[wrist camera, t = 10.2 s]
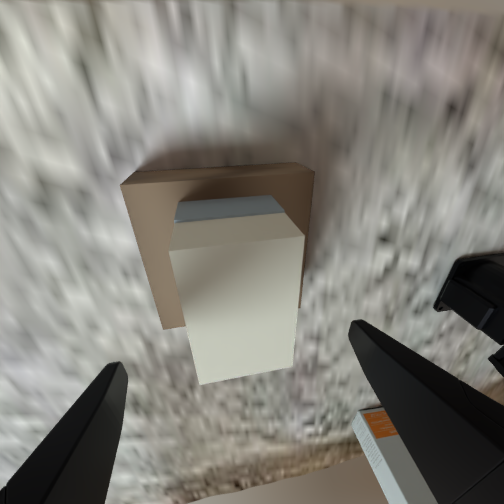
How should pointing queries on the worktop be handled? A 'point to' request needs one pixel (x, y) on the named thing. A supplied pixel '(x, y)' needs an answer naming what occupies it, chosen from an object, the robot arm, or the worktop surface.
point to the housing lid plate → (239, 292)
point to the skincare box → (390, 459)
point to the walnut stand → (204, 188)
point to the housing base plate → (226, 208)
